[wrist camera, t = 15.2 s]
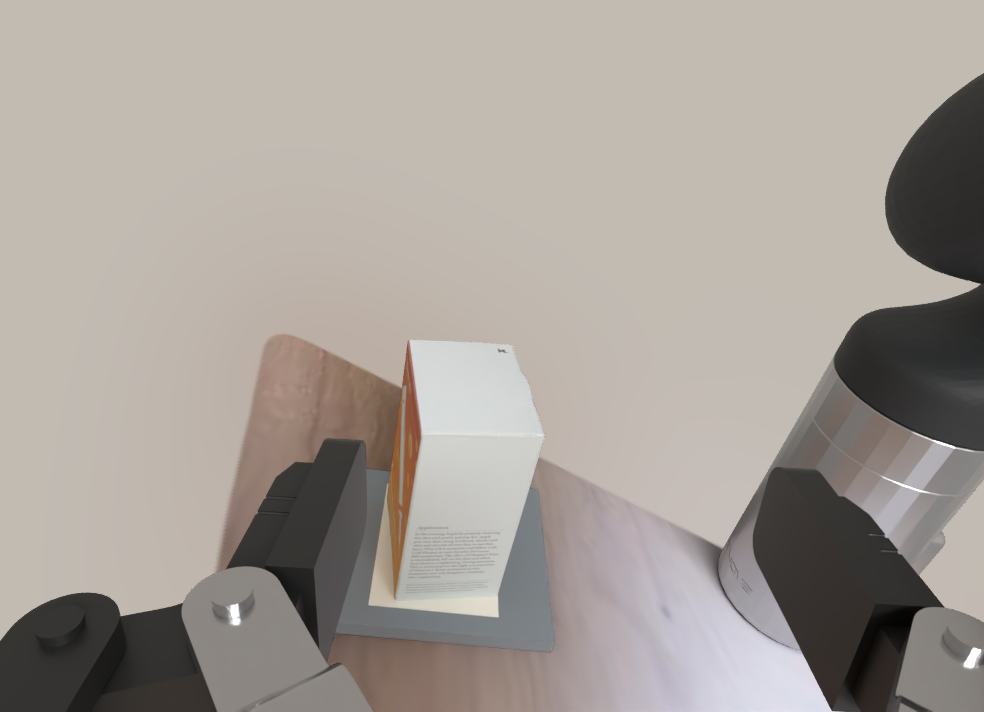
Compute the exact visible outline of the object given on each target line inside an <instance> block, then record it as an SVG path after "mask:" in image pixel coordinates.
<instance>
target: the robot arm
mask: <svg viewBox="0 0 984 712" xmlns="http://www.w3.org/2000/svg"><path fill="white" fill-rule="evenodd" d="M885 209H886V218H887V223H888V226H889V230H890V231H891V233H892V235H893V237H894V239H895V241H896V243H897V244H898V245H899V246H900V247H901V248H902V249H903V250H904V251H905V252H906V253H907V255H909V256H910V257H912V258H913V259H915V260H917V261H918V262H920V263H922V264H923V265H925V266H927V267H929V268H931V269H933V270H935V271H938V272H941V273H944V274H947V275H950V276H953V277H957V278H960V279H964V280H969V281H972V282H976V283H980V284H981V285H979V286H978V287H977V288H975V289H973V290H971V291H969V292H966V293H964V294H961V295H959V296H956V297H953V298H950V299H946V300H942V301H938V302H933V303H928V304H921V305H914V306H904V307H895V308H885V309H879V310H876V311H873V312H870V313H867V314H865V315H864V316H862V317H861V318H859V319H858V320H857V321H856V322H855V323H854V324H853V325H852V327H851V328H850V330H849V331H848V333H847V334H846V336H845V338H844V340H843V342H842V343H841V345H840V347H839V348H838V350H837V352H836V353H835V355H834V357H833V359H832V361H831V362H830V364H829V366H828V367H827V369H826V371H825V373H824V374H823V376H822V378H821V380H820V382H819V383H818V385H817V387H816V388H815V390H814V392H813V394H812V396H811V397H810V399H809V401H808V403H807V404H806V406H805V408H804V410H803V411H802V413H801V415H800V416H799V418H798V420H797V422H796V423H795V425H794V427H793V429H792V430H791V432H790V434H789V435H788V437H787V439H786V441H785V442H784V444H783V446H782V448H781V449H780V451H779V453H778V454H777V456H776V458H775V460H774V461H773V463H772V465H771V467H770V468H769V470H768V472H767V474H766V475H765V477H764V479H763V481H762V482H761V484H760V486H759V488H758V489H757V491H756V493H755V494H754V496H753V498H752V500H751V501H750V503H749V505H748V506H747V508H746V510H745V512H744V513H743V515H742V517H741V519H740V520H739V522H738V524H737V525H736V527H735V529H734V531H733V532H732V534H731V536H730V538H729V539H728V541H727V543H726V545H725V546H724V548H723V550H722V551H721V554H720V557H719V560H718V573H719V577H720V580H721V584H722V586H723V588H724V590H725V592H726V594H727V596H728V598H729V599H730V600H731V602H732V603H733V605H734V606H735V608H736V609H737V610H738V611H739V612H740V613H741V614H742V615H743V616H744V617H745V618H746V619H747V621H749V622H750V623H751V624H752V625H754V626H755V627H756V628H757V629H758V630H760V631H761V632H762V633H764V634H766V635H767V636H769V637H770V638H772V639H774V640H775V641H777V642H779V643H782V644H784V645H786V646H788V647H791V648H794V649H797V650H801V651H802V653H803V655H804V657H805V659H806V661H807V663H808V665H809V667H810V669H811V671H812V673H813V675H814V677H815V679H816V681H817V683H818V685H819V687H820V689H821V691H822V693H823V695H824V697H825V698H826V700H827V702H828V704H829V706H830V708H831V710H832V711H841V712H984V622H982V621H980V620H978V619H976V618H974V617H972V616H970V615H967V614H965V613H962V612H959V611H956V610H953V609H948V608H945V607H944V606H943V605H942V604H941V602H940V601H939V600H938V599H937V597H936V596H935V595H934V594H933V593H932V591H931V590H930V589H929V588H928V586H927V585H926V584H925V583H924V581H923V580H922V579H921V578H920V576H919V575H920V573H921V572H922V571H923V570H924V569H925V568H926V566H927V565H928V564H929V563H930V562H931V561H932V559H933V558H934V557H935V556H936V555H937V554H938V552H939V551H940V550H941V549H942V548H943V546H944V544H945V536H944V534H943V533H942V529H943V528H944V527H945V526H946V525H947V523H948V522H949V521H950V520H951V519H952V517H953V516H954V515H955V514H956V513H957V511H958V510H959V509H960V508H961V507H962V505H963V504H964V503H965V502H966V500H968V498H969V497H970V496H971V495H972V493H973V492H974V491H975V490H976V488H977V487H978V486H979V485H980V484H981V482H982V481H983V480H984V73H983V74H982V75H980V76H978V77H977V78H975V79H974V80H972V81H971V82H969V83H968V84H967V85H965V86H964V87H963V88H962V89H960V90H959V91H957V92H956V93H955V94H954V95H952V96H951V97H950V98H948V99H947V100H946V101H945V102H944V103H943V104H942V105H941V106H940V107H939V108H938V109H936V110H935V111H934V112H933V113H932V114H931V115H930V116H929V117H928V119H927V120H926V121H925V122H924V123H923V124H922V125H921V127H920V128H919V129H918V130H917V131H916V132H915V134H914V135H913V137H912V138H911V139H910V141H909V142H908V144H907V145H906V147H905V148H904V150H903V152H902V153H901V155H900V157H899V159H898V161H897V163H896V165H895V167H894V169H893V171H892V173H891V176H890V179H889V182H888V186H887V191H886V197H885ZM366 517H367V477H366V446H365V442H364V441H363V440H348V439H331V438H326V439H325V440H324V442H323V444H322V446H321V448H320V450H319V452H318V454H317V456H316V459H315V461H314V463H304V462H295V463H294V464H293V465H291V466H290V467H289V468H287V469H286V470H285V471H284V472H282V473H281V474H280V475H278V476H277V477H276V479H275V480H274V482H273V484H272V486H271V488H270V489H269V491H268V493H267V495H266V499H264V500H263V502H262V504H261V506H260V508H259V510H258V514H256V515H255V517H254V519H253V521H252V522H251V524H250V526H249V528H248V530H247V532H246V533H245V535H244V537H243V539H242V541H241V543H240V544H239V546H238V548H237V550H236V552H235V554H234V555H233V557H232V559H231V561H230V563H229V565H228V566H227V568H226V570H222V571H219V572H217V573H215V574H212V575H210V576H209V577H207V578H205V579H204V580H202V581H201V582H200V583H198V584H197V585H196V586H195V587H194V588H193V589H192V590H191V591H190V592H189V594H188V595H187V596H186V598H185V601H184V602H183V603H181V604H178V605H175V606H172V607H167V608H163V609H158V610H152V611H147V612H142V613H136V614H131V615H126V616H120V612H119V609H118V606H117V604H116V603H115V602H114V601H113V600H112V599H111V598H109V597H107V596H105V595H101V594H97V593H77V594H71V595H66V596H63V597H59V598H57V599H54V600H51V601H49V602H46V603H44V604H42V605H40V606H38V607H37V608H35V609H33V610H31V611H30V612H29V613H27V614H26V615H24V616H23V617H22V618H21V619H19V620H18V621H17V622H16V623H15V624H14V625H13V626H12V627H11V628H10V629H9V631H8V632H7V633H6V634H5V636H4V637H3V638H2V640H1V641H0V712H373V711H372V709H371V707H370V706H369V704H368V702H367V701H366V699H365V697H364V696H363V694H362V692H361V691H360V689H359V687H358V686H357V684H356V682H355V681H354V679H353V677H352V676H351V674H350V673H349V671H348V670H347V669H346V667H345V666H344V665H343V664H341V663H336V664H334V665H332V666H329V665H328V664H327V659H328V656H329V652H330V649H331V645H332V642H333V639H334V635H335V632H336V628H337V625H338V622H339V618H340V615H341V611H342V608H343V605H344V601H345V598H346V594H347V591H348V588H349V584H350V581H351V577H352V574H353V571H354V567H355V564H356V560H357V557H358V554H359V550H360V547H361V543H362V540H363V536H364V532H365V526H366Z"/></svg>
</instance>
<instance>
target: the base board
mask: <svg viewBox="0 0 984 712" xmlns="http://www.w3.org/2000/svg"><path fill="white" fill-rule="evenodd" d="M366 477H367V517H366V526H365V532H364V536H363V540H362V543H361V547H360V550H359V554H358V557H357V560H356V564H355V567H354V571H353V574H352V577H351V581H350V584H349V588H348V591H347V594H346V598H345V601H344V605H343V608H342V611H341V615H340V618H339V622H338V625H337V628H336V632H335V633H338V634H350V635H361V636H372V637H383V638H395V639H406V640H417V641H428V642H440V643H451V644H462V645H473V646H485V647H496V648H507V649H518V650H530V651H541V652H551V651H552V649H553V646H554V644H555V638H554V628H553V619H552V610H551V601H550V592H549V583H548V574H547V565H546V556H545V547H544V538H543V529H542V520H541V511H540V502H539V492H538V489H533V488H529V492H528V495H527V498H526V502H525V505H524V508H523V512H522V515H521V518H520V522H519V525H518V528H517V531H516V535H515V538H514V541H513V545H512V548H511V551H510V555H509V558H508V561H507V565H506V568H505V571H504V575H503V578H502V581H501V585H500V589H499V592H498V595H496V596H490V597H473V598H450V599H430V600H410V601H396V600H395V598H394V582H393V564H392V547H391V535H390V521H389V511H388V503H387V492H388V485H389V477H390V471H383V470H374V469H366Z"/></svg>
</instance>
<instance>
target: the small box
mask: <svg viewBox="0 0 984 712" xmlns="http://www.w3.org/2000/svg"><path fill="white" fill-rule="evenodd" d="M544 438H545V433H544V430H543V427H542V423H541V421H540V418H539V414H538V412H537V409H536V406H535V403H534V400H533V397H532V393H531V389H530V386H529V384H528V381H527V379H526V377H525V375H524V373H523V371H522V368H521V365H520V363H519V360H518V358H517V355H516V353H515V350H514V347H513V346H512V345H503V344H494V343H476V342H458V341H457V342H456V341H434V340H409V341H408V345H407V353H406V361H405V369H404V376H403V384H402V391H401V398H400V405H399V413H398V420H397V428H396V436H395V443H394V451H393V458H392V464H391V470H390V477H389V485H388V492H387V503H388V511H389V521H390V535H391V547H392V564H393V582H394V598H395V600H396V601H410V600H430V599H450V598H473V597H490V596H496V595H498V592H499V589H500V585H501V581H502V578H503V575H504V571H505V568H506V565H507V561H508V558H509V555H510V551H511V548H512V545H513V541H514V538H515V535H516V531H517V528H518V525H519V522H520V518H521V515H522V512H523V508H524V505H525V502H526V498H527V495H528V492H529V488H530V485H531V481H532V478H533V474H534V471H535V468H536V465H537V462H538V458H539V455H540V452H541V448H542V445H543V441H544Z"/></svg>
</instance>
